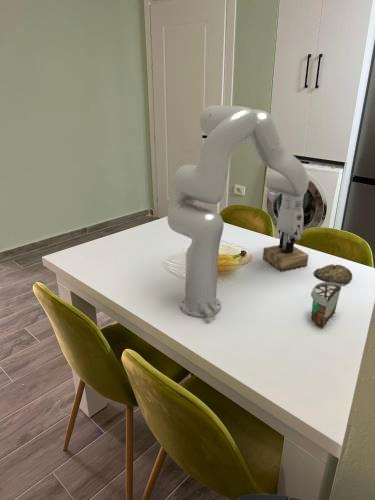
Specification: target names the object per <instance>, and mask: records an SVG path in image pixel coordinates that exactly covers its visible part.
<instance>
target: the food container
mask: <svg viewBox="0 0 375 500" xmlns="http://www.w3.org/2000/svg"><path fill="white" fill-rule="evenodd" d="M341 290H342V285H341V284H338V283H332V282H326V281H324V282H320V283H317V284H316V285H315V286H314V287H313V288H312V290H311V293H310V297H311V299H312V305H311V306H312V307H311V317H310V318H311V322H312V323H313V322H314V323H315V324H316V325H315V324H314V323H313V324H314V325H315V326H317V327H319V328H320V327H321V329H324V328H325V327H326V325H327V324H328V323H329V322H330V321H329V319H330V318H331V317H332V316H333V314H335V313H336V309H337V306H338V302H339V296H340V293H341ZM333 317H334V316H333ZM333 317H332V318H333ZM332 318H331V319H332ZM331 319H330V320H331ZM328 321H329V322H328ZM327 322H328V323H327ZM324 326H325V327H324ZM323 327H324V328H323Z"/></svg>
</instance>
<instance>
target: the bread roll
mask: <svg viewBox="0 0 375 500" xmlns="http://www.w3.org/2000/svg"><path fill="white" fill-rule="evenodd" d="M313 275H314V276H315V277H316V276H317V277H316V278H318V279H320V280H322V281H324V280H325V281H324V282H326V281H328V282H332V283H338V284H341V286H343V285H342V284H346V283H347V284H349V283H350V282H351V281H352V278H353V273H352V271H351V270H350V269H349V268H348V267H346V266H344V265H341V264H333V263H332V264H327V265H325V266H323V267H321V268H320V267H319V268H317V269H315V270H314V271H313ZM349 281H350V282H349ZM348 282H349V283H348ZM347 284H346V285H347Z"/></svg>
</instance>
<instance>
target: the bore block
mask: <svg viewBox="0 0 375 500" xmlns="http://www.w3.org/2000/svg"><path fill="white" fill-rule="evenodd" d="M262 260H263V261H264V262H266V263H267V264H269V265H270V266H272V267H274V268H275V269H276V270H278V271H279V272H281V273H282V272H288V271H293V270H297V269H296V268H298V269H302V268H301V267H303V268H306V267H305V266H307V267H308V262H309V261H308V260H309V253H306V252H304V251H303V250H302V249H299V248H297V247H296V246H294V247H293V251H292V252H290V253H288V254H284V253H282V248H281V249H280V248H279V245H273V246H267V247H263V254H262ZM292 269H293V270H292ZM287 270H288V271H287Z"/></svg>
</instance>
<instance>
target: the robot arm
mask: <svg viewBox="0 0 375 500" xmlns="http://www.w3.org/2000/svg"><path fill="white" fill-rule="evenodd" d="M199 116H200V117H199V127H200V129H201V131H202V132H203V133H204V134H205V135H206V136H207V137H206V138H205V139H204V141H203V142H202V143H201V144H202V145H201V148H200V151H199V156H198V160H197V165H196V164H184V165H182V166H180V167H179V168H178V169H177V170H176V172H175V173H174V175H173V177H172V180H171V186H170V194H169V201H168V207H167V208H168V209H167V215H166V216H167V224H168V226H169V229H171V230H172V231H173V232H175V233H177V234H180V235H182V236H184V237H186V238H189V239H190V240H191V243H190V244H189V246H188V247H187V249H186V252H185V286H184V287H185V288H184V289H185V295H184V297H183V298H181V300H180V303H179V307H180V309H181V311H183V313H185V314H186V315H188V316H192V317H195V318H209V319H210V318H213V316H215V315H216V314H218V313H219V312H220V310H221V307H222V303H221V301H220V299H219V298H218V297H217V294H218V293H217V291H218V289H217V288H218V271H219V268H218V267H219V252H220V251H219V250H220V244H221V239H222V236H223V233H224V232H223V231H224V225H225V224H224V220H223V217H222V216H221V215H220V214H219V213H218V212H217V211H215V210H213V209H211V208H208V207H203V206H202V205H201V206H200V205H197V204H195V201H196V202H199V203H203V204H209V205H215V204H218V203H219V202H221V201H222V199H223V197H224V194H225V190H226V184H227V179H228V176H229V175H228V174H229V169H230V164H231V159H232V157H233V153H234V152H235V150H236V149H237V147H238V146H239V145H240V143H242V142H243V141H244V140H248V142H249V143H250V145H251V148H252V149H253V152H254V154H255V156H256V158H257V160H258V162H259V163H261V164H262V165H263V166H266V167H267V168H269V169H270V170H272V171H271V172H270V173H268V175H267V176H266V178H265V180H264V181H265V188H266V189H267V190H268V191H270V192H272V193H276V194H280V195H282V196H281V204H280V208H279V210H278V215H277V220H276V230H277V231H278V235H279V236H278V237H279V248H280V249H281V248H282V245H283V237H284V233H286V234H288V242H287V243H286V250H285V252H292V251H293V247H295V243H296V242H297V241H298V240H301V239H302V237H301V235H303V230H304V219H305V218H304V216H305V215H304V214H305V213H304V209H303V207H304V197H305V194H306V193H307V191H308V189H309V178H308V175H307V171H306V168H305V167H304V165H303V163H302V162H301V161H300V160H299V159H298V158H297V157H296V156H295V155H294V154H293V153H291V152H290V151H289V150H288V149H287V148H285V146H283V142H282V141H281V138H280V135H279V133H278V130H277V128H276V125H275V122H274V119H273V118H272V115H271V114H270V113H269V112H268V111H265V110H264V109H263V110H262V109H252V108H251V107H247V106H238V105H220V104H219V105H218V104H213V105H212V104H211V105H209V106H206V107H205V108H204V109H202V112H201V114H200V115H199ZM291 237H292V238H291Z"/></svg>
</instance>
